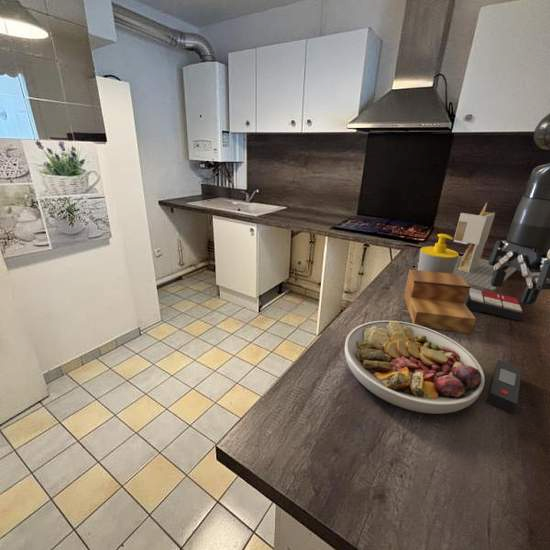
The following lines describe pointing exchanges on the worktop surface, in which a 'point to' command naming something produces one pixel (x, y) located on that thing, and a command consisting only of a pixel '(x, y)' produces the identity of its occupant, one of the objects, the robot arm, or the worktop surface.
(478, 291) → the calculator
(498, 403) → the remote
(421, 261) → the soap bottle
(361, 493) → the worktop surface
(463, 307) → the shelf
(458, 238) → the white desk organizer
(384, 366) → the bowl
